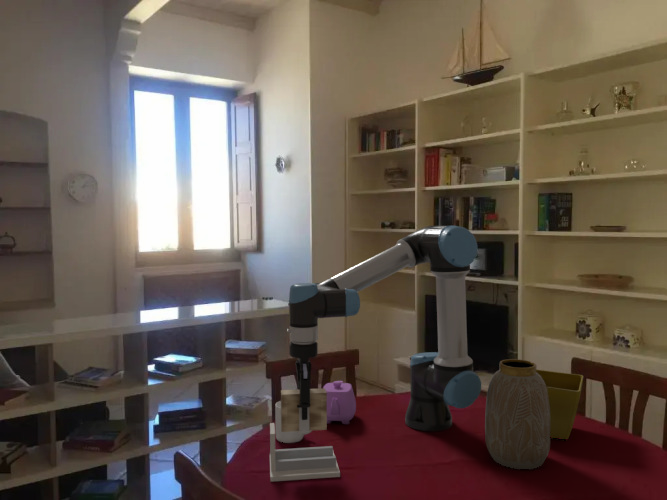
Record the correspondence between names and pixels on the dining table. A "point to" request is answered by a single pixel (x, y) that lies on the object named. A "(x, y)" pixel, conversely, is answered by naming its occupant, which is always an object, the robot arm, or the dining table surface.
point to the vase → (518, 416)
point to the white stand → (301, 462)
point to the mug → (286, 436)
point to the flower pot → (562, 400)
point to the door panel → (292, 412)
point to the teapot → (340, 402)
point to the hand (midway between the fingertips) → (303, 427)
